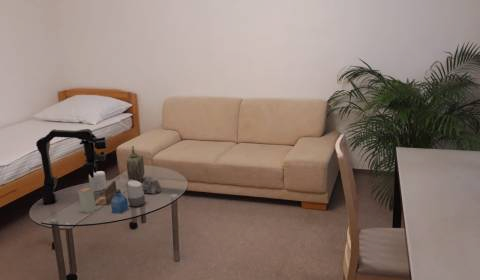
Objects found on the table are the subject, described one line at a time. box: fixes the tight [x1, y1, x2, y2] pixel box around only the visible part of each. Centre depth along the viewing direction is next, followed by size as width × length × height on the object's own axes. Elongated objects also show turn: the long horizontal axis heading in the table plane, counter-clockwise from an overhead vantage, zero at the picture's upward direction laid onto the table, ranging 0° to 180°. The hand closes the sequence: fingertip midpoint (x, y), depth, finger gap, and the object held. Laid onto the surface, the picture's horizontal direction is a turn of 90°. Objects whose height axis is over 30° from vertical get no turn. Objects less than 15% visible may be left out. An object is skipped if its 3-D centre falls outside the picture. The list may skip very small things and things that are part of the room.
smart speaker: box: [127, 179, 146, 208], centre depth 245 cm, size 10×9×14 cm
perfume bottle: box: [110, 188, 129, 214], centre depth 238 cm, size 6×6×12 cm
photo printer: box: [88, 170, 108, 193], centre depth 273 cm, size 10×4×12 cm, turn 124°
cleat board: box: [95, 180, 117, 206], centre depth 254 cm, size 10×14×10 cm
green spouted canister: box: [125, 145, 145, 181], centre depth 282 cm, size 14×9×25 cm, turn 6°
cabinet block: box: [78, 187, 97, 214], centre depth 241 cm, size 6×6×12 cm
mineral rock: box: [141, 176, 162, 195], centre depth 264 cm, size 13×11×10 cm
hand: (94, 175), depth 258 cm, fingers open, 9 cm apart
